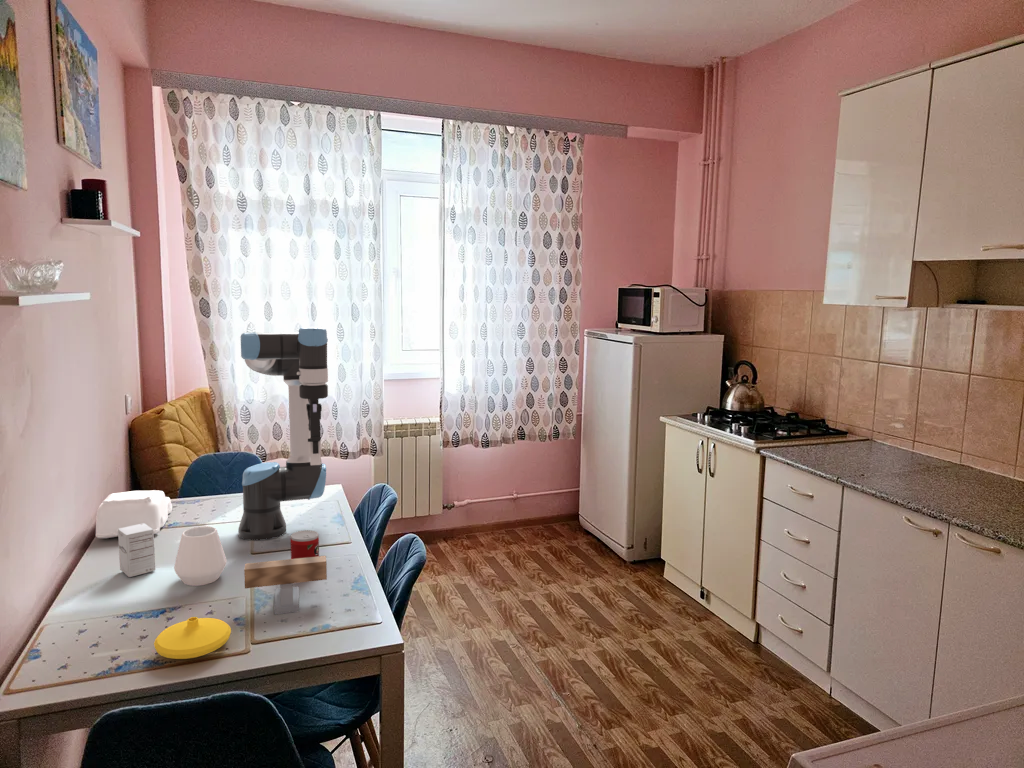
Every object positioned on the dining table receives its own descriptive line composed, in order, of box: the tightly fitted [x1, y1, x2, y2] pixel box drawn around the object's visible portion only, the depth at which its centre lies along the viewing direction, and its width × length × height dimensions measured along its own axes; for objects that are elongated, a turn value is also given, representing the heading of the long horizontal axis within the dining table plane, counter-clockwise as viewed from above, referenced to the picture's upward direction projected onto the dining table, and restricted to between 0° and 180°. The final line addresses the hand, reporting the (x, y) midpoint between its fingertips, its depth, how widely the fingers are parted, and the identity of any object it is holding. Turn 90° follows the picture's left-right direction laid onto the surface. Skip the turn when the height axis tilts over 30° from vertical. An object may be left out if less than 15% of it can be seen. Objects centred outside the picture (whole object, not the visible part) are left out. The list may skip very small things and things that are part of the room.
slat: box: [243, 555, 328, 589], centre depth 172 cm, size 20×4×5 cm, turn 108°
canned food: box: [290, 530, 320, 559], centre depth 193 cm, size 8×8×11 cm
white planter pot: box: [173, 525, 228, 587], centre depth 186 cm, size 13×13×14 cm
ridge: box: [273, 583, 300, 615], centre depth 173 cm, size 12×6×6 cm, turn 18°
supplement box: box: [118, 523, 156, 578], centre depth 190 cm, size 7×7×13 cm
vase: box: [153, 616, 232, 660], centre depth 149 cm, size 16×16×7 cm
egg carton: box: [95, 489, 173, 539], centre depth 228 cm, size 19×30×13 cm, turn 19°
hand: (314, 459), depth 184 cm, fingers open, 13 cm apart
